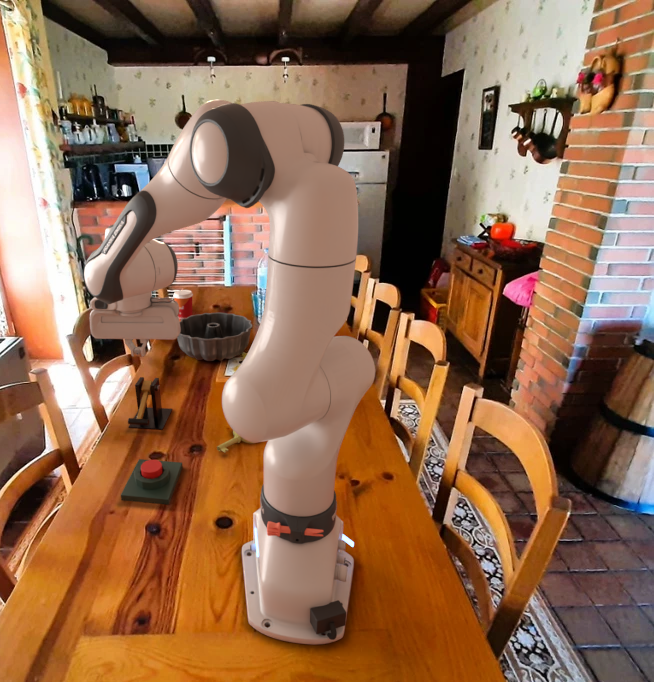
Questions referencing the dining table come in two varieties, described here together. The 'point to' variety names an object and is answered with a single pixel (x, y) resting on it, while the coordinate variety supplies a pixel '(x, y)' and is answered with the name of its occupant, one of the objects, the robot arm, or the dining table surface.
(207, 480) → the dining table surface
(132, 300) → the robot arm
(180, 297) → the paper cup
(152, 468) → the button
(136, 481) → the switch box
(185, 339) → the bundt pan
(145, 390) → the lever
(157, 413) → the lever bracket
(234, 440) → the key
